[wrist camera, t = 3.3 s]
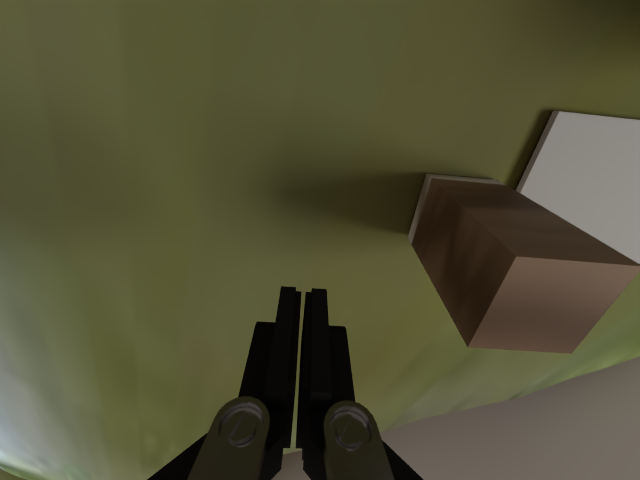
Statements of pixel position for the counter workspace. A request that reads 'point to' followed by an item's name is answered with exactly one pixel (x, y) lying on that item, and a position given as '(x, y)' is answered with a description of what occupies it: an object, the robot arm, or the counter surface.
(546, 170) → the mat
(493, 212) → the block
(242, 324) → the counter surface
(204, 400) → the counter surface
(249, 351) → the robot arm
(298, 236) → the counter surface
